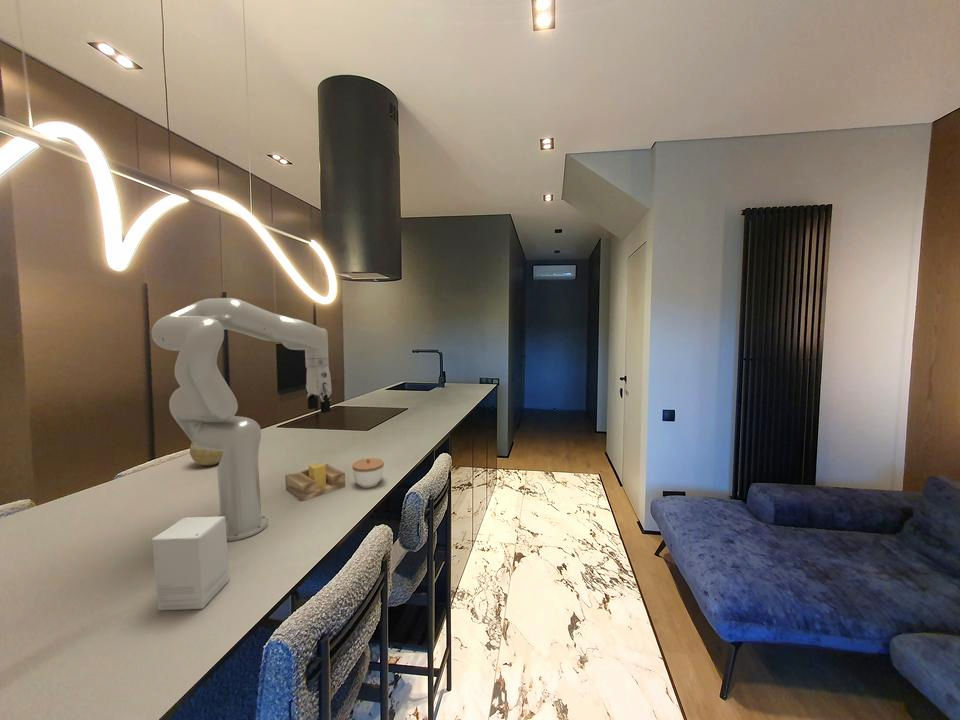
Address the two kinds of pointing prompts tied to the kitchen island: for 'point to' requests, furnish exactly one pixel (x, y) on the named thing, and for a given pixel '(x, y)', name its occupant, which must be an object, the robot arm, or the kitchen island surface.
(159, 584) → the supplement box
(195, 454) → the fossilized egg
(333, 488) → the notched board
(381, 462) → the lidded jar
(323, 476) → the yellow upright block
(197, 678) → the kitchen island surface
